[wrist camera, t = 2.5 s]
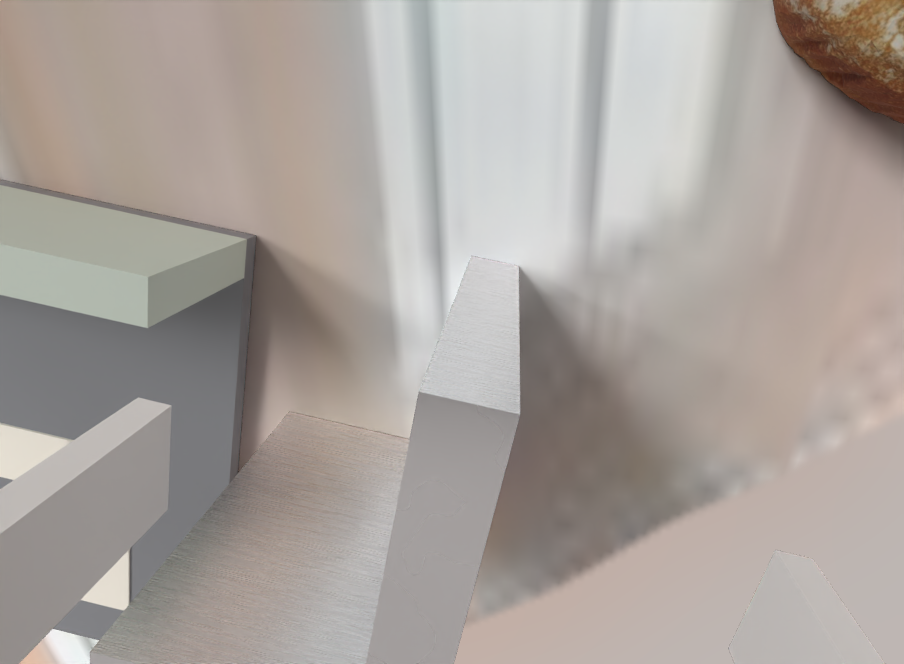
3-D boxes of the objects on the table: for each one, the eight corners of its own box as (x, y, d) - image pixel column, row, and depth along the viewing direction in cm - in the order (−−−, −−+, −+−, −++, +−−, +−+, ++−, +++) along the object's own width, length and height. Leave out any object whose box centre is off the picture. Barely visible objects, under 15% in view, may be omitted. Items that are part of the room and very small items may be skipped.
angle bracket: (464, 489, 25) (420, 790, 13) (285, 447, 25) (91, 707, 14) (518, 265, 21) (520, 414, 10) (310, 220, 21) (79, 314, 10)
